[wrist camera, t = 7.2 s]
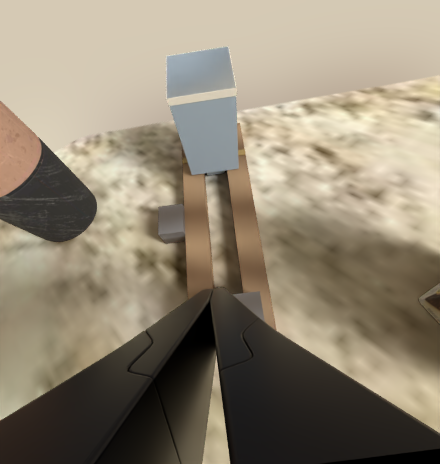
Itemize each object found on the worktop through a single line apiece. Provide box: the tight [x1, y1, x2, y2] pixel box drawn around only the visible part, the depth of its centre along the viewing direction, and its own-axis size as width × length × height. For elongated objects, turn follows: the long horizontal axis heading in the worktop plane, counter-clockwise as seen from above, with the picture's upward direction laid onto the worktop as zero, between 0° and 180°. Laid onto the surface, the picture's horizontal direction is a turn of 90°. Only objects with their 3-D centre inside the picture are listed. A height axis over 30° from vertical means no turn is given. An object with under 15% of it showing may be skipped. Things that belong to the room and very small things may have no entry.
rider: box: [166, 46, 239, 175], centre depth 23 cm, size 5×5×11 cm
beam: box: [158, 123, 276, 330], centre depth 23 cm, size 24×9×4 cm, turn 6°
